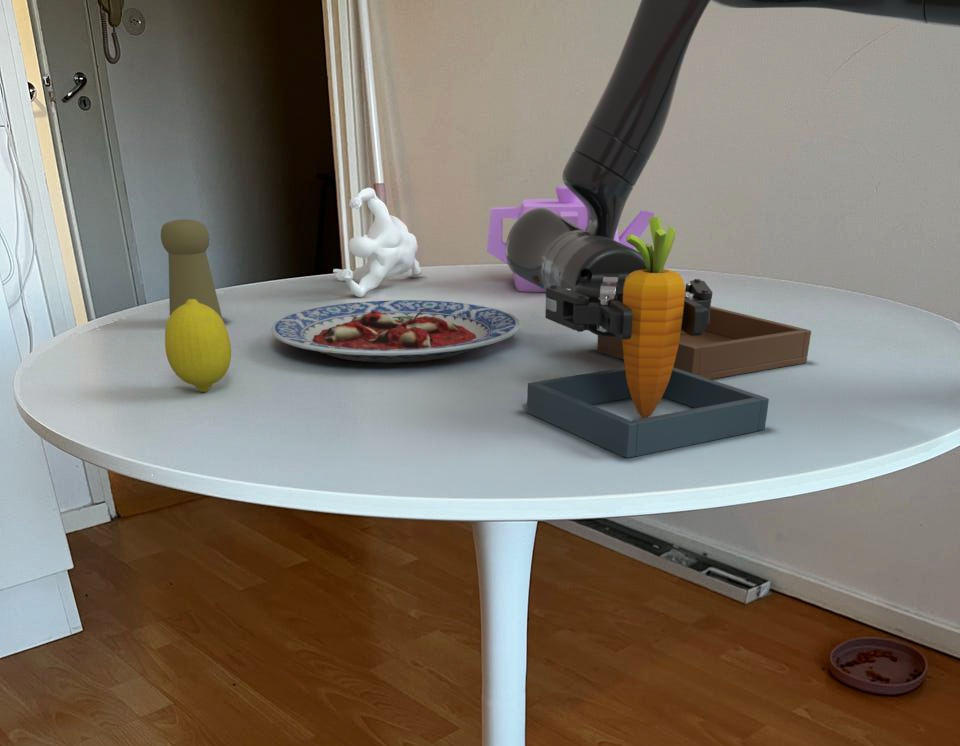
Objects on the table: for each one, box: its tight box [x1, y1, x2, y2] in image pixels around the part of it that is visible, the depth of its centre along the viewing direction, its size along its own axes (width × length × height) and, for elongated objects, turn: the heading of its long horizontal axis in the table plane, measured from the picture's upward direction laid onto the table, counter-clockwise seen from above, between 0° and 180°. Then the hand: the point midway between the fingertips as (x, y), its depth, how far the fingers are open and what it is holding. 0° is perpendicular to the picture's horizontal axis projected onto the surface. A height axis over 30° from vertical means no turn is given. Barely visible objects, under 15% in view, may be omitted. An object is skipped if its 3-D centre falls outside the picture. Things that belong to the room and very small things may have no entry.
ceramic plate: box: [270, 299, 521, 364], centre depth 105 cm, size 26×26×3 cm
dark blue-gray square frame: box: [526, 367, 770, 459], centre depth 81 cm, size 14×14×2 cm
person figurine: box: [332, 187, 423, 298], centre depth 133 cm, size 13×13×18 cm
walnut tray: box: [596, 305, 812, 380], centre depth 100 cm, size 15×15×3 cm
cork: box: [160, 218, 224, 321], centre depth 113 cm, size 6×6×11 cm
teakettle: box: [486, 185, 655, 293], centre depth 134 cm, size 17×17×12 cm
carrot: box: [622, 216, 686, 419], centre depth 77 cm, size 5×5×15 cm
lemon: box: [164, 299, 232, 393], centre depth 88 cm, size 6×6×8 cm
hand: (663, 323), depth 75 cm, fingers closed on carrot, 5 cm apart
